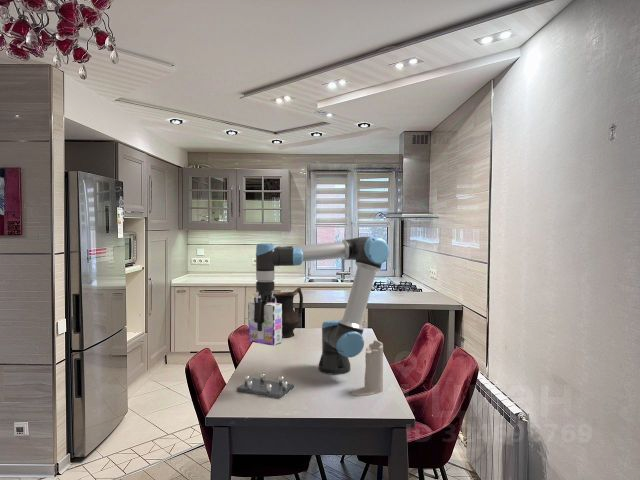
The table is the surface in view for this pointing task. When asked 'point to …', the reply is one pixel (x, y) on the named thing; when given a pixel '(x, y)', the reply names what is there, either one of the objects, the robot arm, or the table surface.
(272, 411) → the table surface
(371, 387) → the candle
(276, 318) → the candy box
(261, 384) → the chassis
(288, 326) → the jug
